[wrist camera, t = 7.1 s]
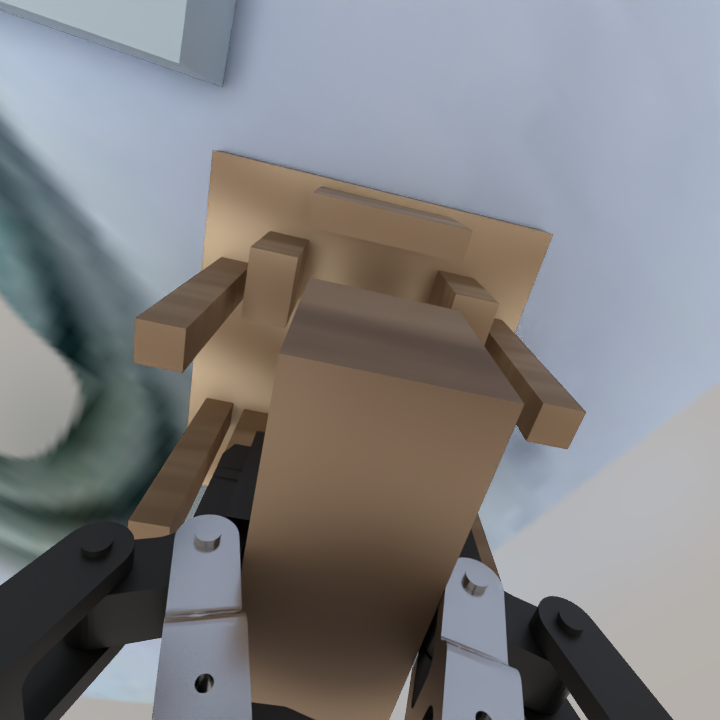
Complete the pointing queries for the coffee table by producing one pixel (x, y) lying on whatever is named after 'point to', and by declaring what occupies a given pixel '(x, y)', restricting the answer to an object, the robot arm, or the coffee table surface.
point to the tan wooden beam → (365, 495)
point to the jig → (338, 265)
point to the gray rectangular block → (145, 29)
